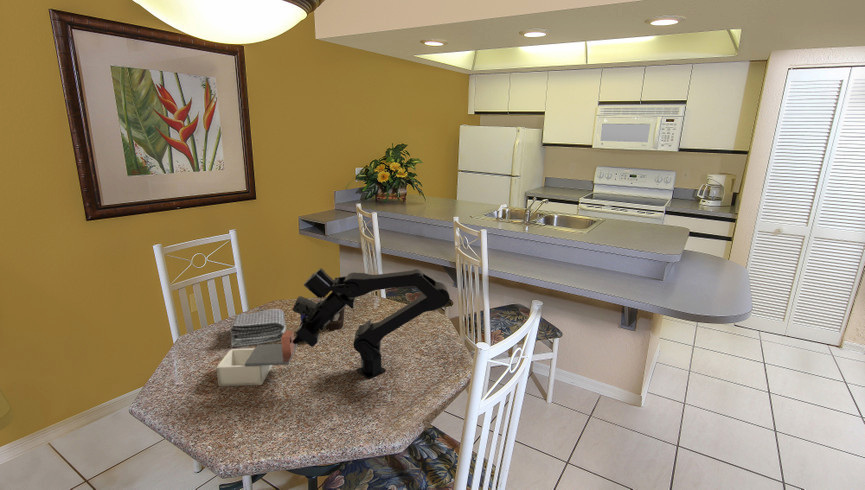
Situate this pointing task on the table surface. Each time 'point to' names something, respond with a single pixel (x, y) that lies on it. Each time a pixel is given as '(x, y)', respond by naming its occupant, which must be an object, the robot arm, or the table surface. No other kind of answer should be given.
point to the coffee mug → (336, 321)
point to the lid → (273, 352)
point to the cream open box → (240, 369)
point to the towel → (258, 328)
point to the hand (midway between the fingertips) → (293, 342)
